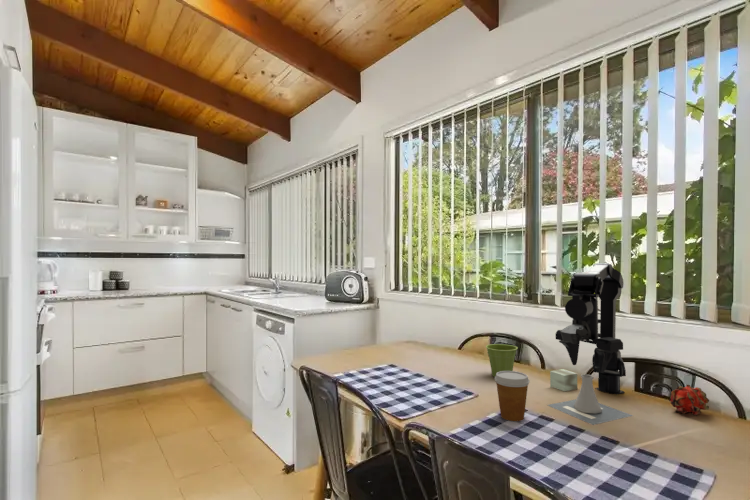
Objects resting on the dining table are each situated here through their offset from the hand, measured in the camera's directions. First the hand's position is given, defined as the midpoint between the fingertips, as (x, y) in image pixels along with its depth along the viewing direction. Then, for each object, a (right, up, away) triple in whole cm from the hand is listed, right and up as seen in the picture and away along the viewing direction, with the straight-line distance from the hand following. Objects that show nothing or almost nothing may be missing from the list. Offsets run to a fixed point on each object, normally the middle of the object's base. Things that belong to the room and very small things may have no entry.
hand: (587, 368), depth 119 cm
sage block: (+2, -13, +20) cm, 24 cm away
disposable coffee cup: (-23, -13, -3) cm, 27 cm away
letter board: (0, -13, 0) cm, 13 cm away
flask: (0, -12, 0) cm, 12 cm away
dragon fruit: (+29, -13, -1) cm, 32 cm away
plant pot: (-14, -14, +36) cm, 41 cm away
